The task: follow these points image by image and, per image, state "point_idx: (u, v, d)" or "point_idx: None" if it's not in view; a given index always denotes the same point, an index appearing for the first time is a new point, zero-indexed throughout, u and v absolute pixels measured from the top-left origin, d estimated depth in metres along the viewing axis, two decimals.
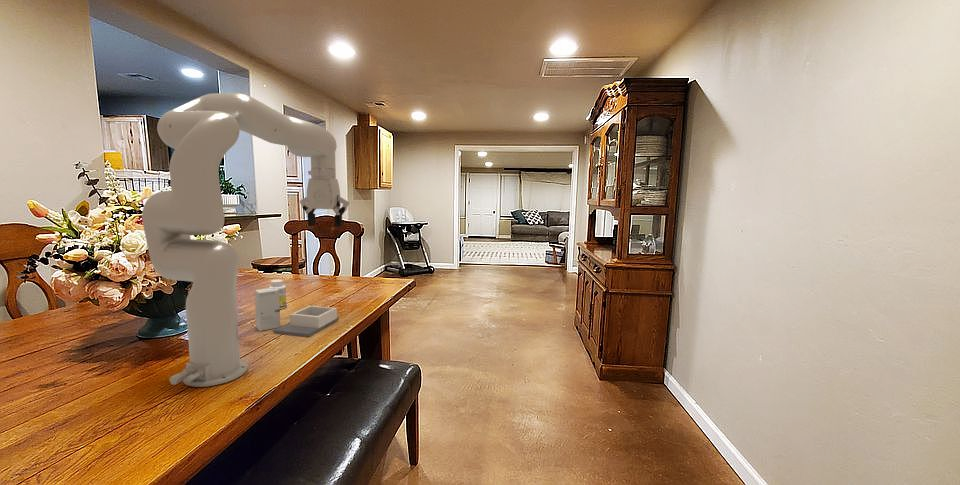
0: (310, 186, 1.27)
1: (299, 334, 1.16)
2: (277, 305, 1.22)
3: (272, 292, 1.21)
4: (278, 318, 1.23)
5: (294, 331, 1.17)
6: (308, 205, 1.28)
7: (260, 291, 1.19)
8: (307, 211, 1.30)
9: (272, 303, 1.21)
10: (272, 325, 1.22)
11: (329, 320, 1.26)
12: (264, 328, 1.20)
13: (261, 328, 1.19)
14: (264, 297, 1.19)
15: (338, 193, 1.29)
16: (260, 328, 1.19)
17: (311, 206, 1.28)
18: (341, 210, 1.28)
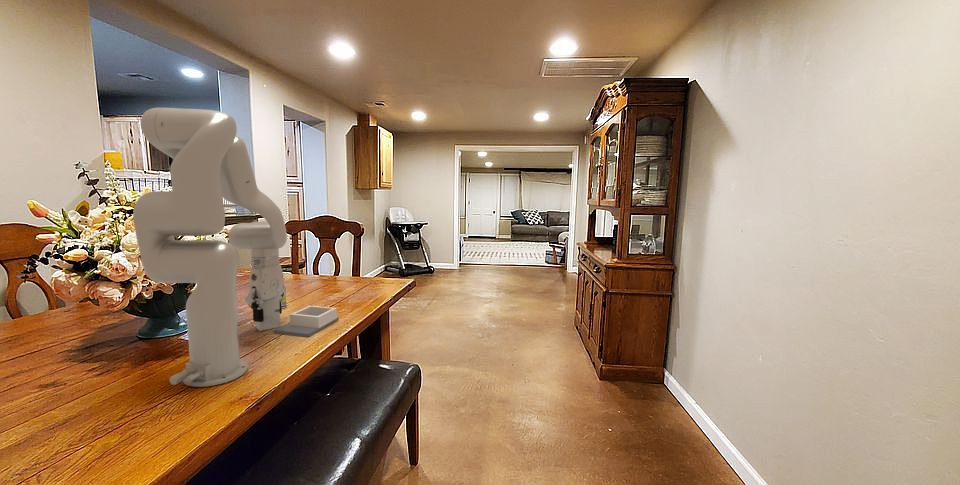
0: (265, 277, 1.17)
1: (299, 334, 1.16)
2: (277, 305, 1.22)
3: None
4: (278, 318, 1.23)
5: (294, 331, 1.17)
6: (265, 298, 1.17)
7: None
8: (260, 306, 1.17)
9: (272, 303, 1.21)
10: (272, 325, 1.22)
11: (329, 320, 1.26)
12: (264, 328, 1.20)
13: (261, 327, 1.20)
14: None
15: None
16: (260, 328, 1.19)
17: (267, 298, 1.18)
18: (282, 295, 1.27)
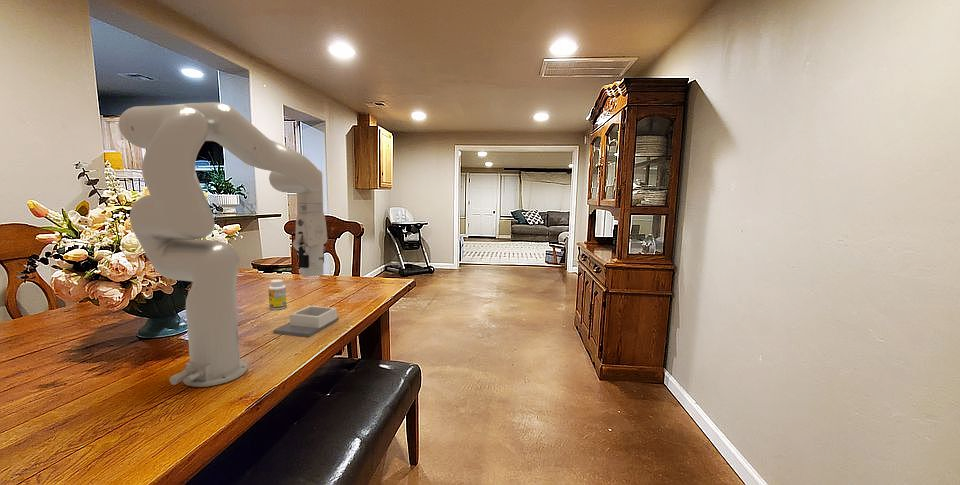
0: (311, 223, 1.18)
1: (299, 334, 1.16)
2: (321, 253, 1.23)
3: None
4: (322, 266, 1.24)
5: (294, 331, 1.17)
6: (311, 243, 1.18)
7: None
8: (306, 252, 1.18)
9: (316, 250, 1.22)
10: (316, 273, 1.23)
11: (329, 320, 1.26)
12: (309, 274, 1.21)
13: (306, 274, 1.21)
14: None
15: None
16: (305, 274, 1.21)
17: (313, 244, 1.19)
18: (324, 245, 1.28)
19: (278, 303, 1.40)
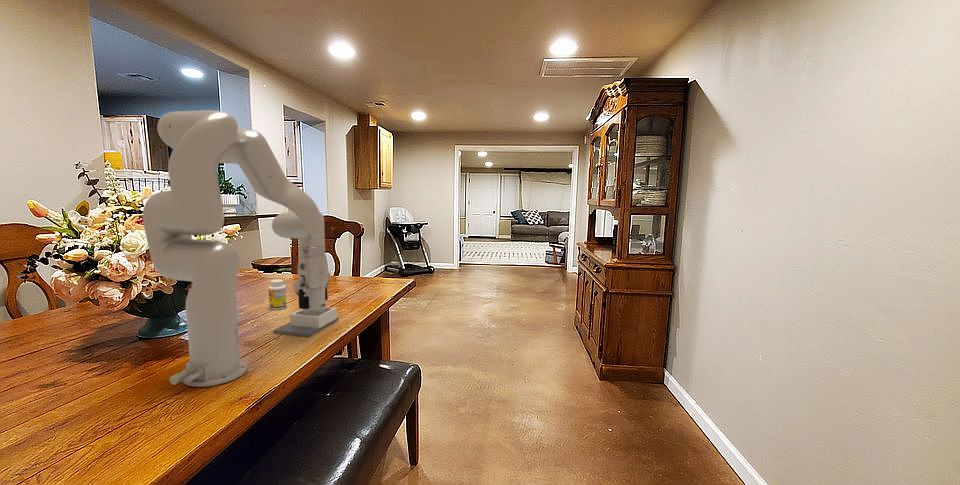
0: (313, 266, 1.20)
1: (299, 334, 1.16)
2: (323, 300, 1.26)
3: (319, 287, 1.24)
4: (324, 312, 1.26)
5: (294, 331, 1.17)
6: (313, 286, 1.20)
7: None
8: (306, 294, 1.19)
9: (318, 297, 1.24)
10: None
11: (329, 320, 1.26)
12: None
13: None
14: (311, 291, 1.23)
15: None
16: None
17: (315, 286, 1.21)
18: (327, 282, 1.31)
19: (278, 303, 1.40)
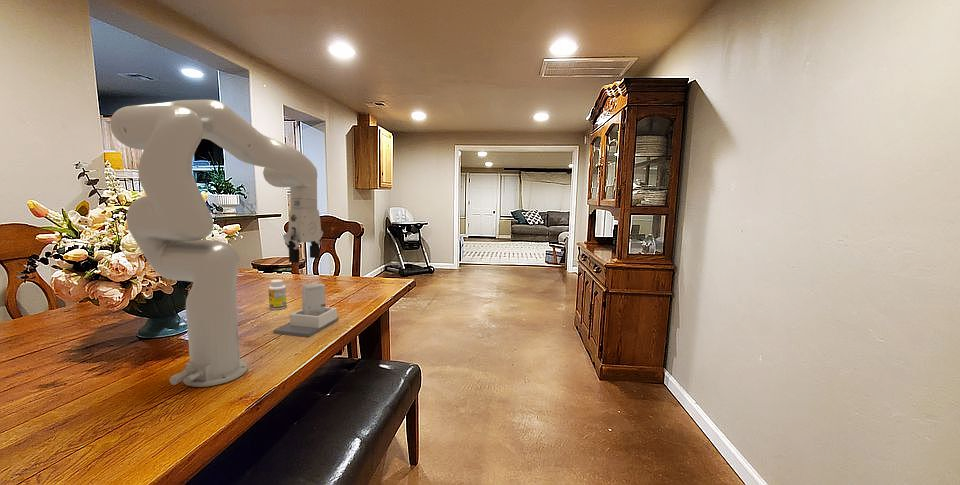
0: (305, 218, 1.17)
1: (299, 334, 1.16)
2: (323, 300, 1.26)
3: (319, 287, 1.24)
4: (324, 312, 1.26)
5: (294, 331, 1.17)
6: (303, 239, 1.17)
7: (307, 286, 1.23)
8: (296, 246, 1.16)
9: (318, 297, 1.24)
10: None
11: (329, 320, 1.26)
12: None
13: None
14: (311, 291, 1.23)
15: None
16: None
17: (306, 240, 1.18)
18: (320, 240, 1.28)
19: (278, 303, 1.40)
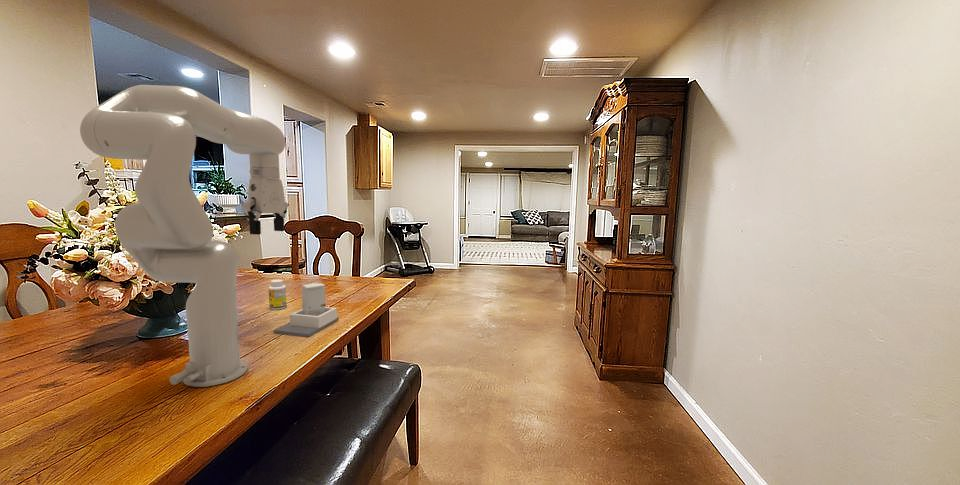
0: (265, 188, 1.11)
1: (299, 334, 1.16)
2: (323, 300, 1.26)
3: (319, 287, 1.24)
4: (324, 312, 1.26)
5: (294, 331, 1.17)
6: (264, 210, 1.11)
7: (307, 286, 1.23)
8: (257, 217, 1.10)
9: (318, 297, 1.24)
10: None
11: (329, 320, 1.26)
12: None
13: None
14: (311, 291, 1.23)
15: None
16: None
17: (267, 211, 1.12)
18: (284, 212, 1.22)
19: (278, 303, 1.40)
